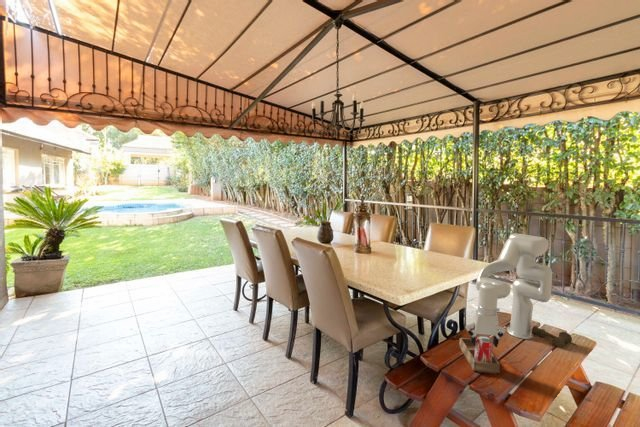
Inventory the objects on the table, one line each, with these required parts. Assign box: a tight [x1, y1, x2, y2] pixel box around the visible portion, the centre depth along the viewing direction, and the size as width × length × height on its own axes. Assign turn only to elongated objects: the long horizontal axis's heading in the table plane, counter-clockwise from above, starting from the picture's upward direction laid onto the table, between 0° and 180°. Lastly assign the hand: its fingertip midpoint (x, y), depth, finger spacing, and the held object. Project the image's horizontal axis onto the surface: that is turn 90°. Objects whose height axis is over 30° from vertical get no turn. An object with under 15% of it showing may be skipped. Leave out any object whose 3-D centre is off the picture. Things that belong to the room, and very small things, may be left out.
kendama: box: [531, 325, 578, 349], centre depth 166 cm, size 6×10×20 cm
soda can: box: [474, 335, 493, 363], centre depth 143 cm, size 7×7×12 cm
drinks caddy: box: [458, 337, 501, 374], centre depth 149 cm, size 21×11×4 cm, turn 173°
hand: (484, 344), depth 143 cm, fingers open, 9 cm apart
